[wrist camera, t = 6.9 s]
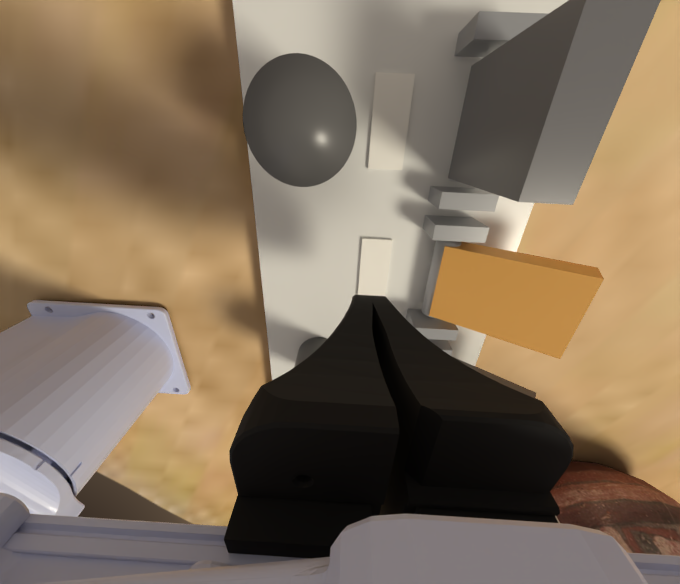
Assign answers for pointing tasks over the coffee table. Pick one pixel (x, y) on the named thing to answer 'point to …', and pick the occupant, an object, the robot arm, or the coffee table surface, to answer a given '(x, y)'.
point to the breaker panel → (365, 156)
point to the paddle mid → (509, 294)
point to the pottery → (619, 508)
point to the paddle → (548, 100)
